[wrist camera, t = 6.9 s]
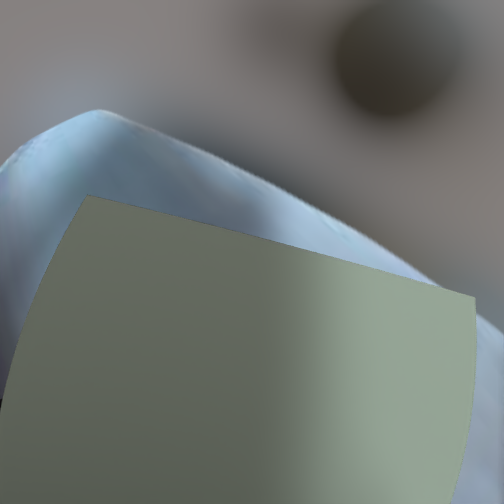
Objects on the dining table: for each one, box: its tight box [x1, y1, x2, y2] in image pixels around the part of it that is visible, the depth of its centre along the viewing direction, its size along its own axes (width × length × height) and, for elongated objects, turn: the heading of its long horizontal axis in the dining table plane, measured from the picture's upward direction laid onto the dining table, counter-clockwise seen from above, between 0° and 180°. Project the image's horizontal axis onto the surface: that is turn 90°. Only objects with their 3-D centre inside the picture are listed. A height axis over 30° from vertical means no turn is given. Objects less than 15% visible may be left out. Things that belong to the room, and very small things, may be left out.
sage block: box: [0, 195, 477, 504], centre depth 8 cm, size 5×5×13 cm
